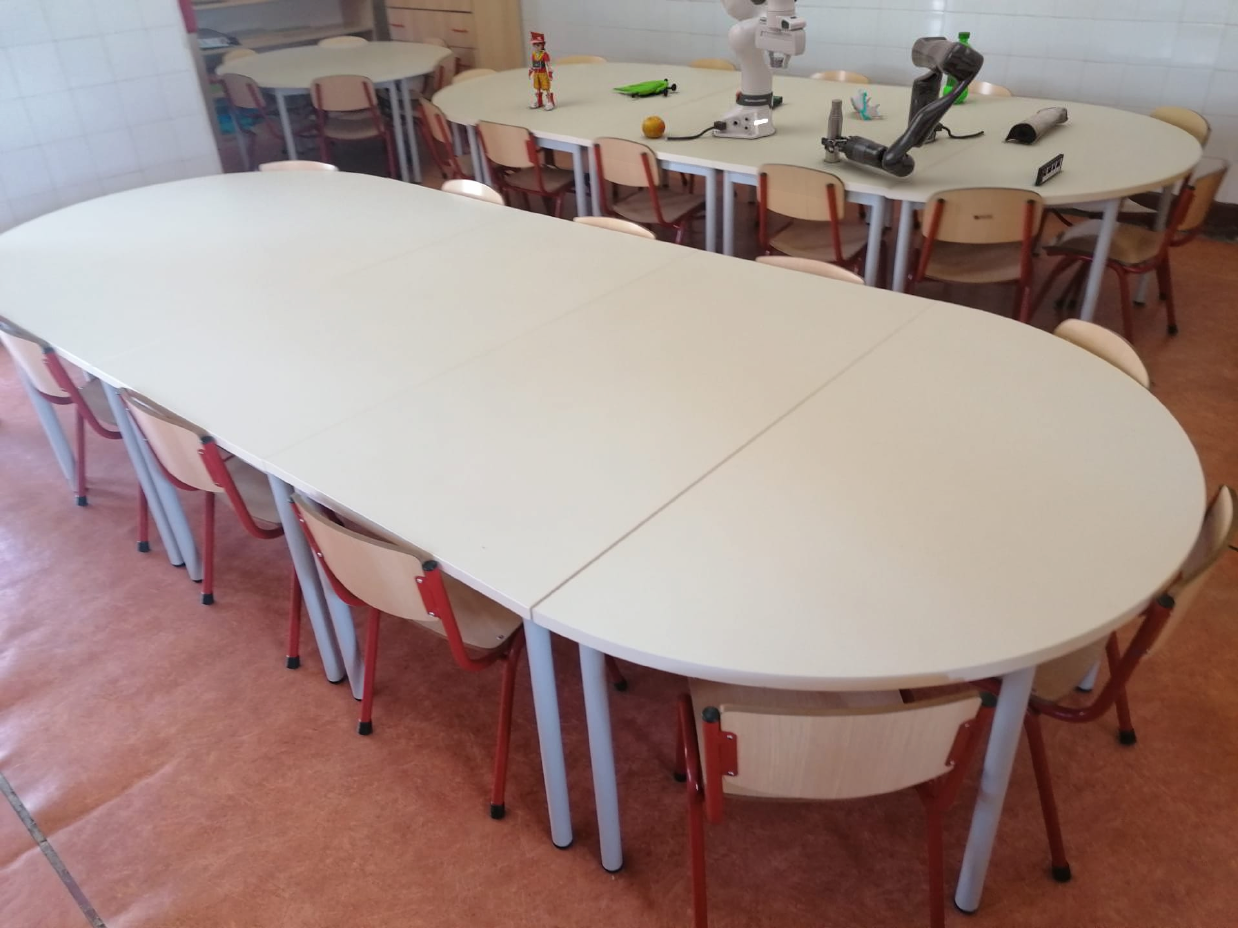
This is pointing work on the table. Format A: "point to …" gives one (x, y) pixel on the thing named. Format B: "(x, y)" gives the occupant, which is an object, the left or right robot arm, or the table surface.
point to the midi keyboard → (1049, 169)
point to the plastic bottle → (951, 82)
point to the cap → (776, 62)
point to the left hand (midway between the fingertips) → (778, 67)
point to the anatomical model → (864, 105)
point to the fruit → (653, 127)
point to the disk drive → (777, 101)
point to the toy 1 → (541, 71)
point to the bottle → (834, 128)
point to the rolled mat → (1037, 125)
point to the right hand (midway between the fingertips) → (828, 139)
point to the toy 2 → (648, 88)
